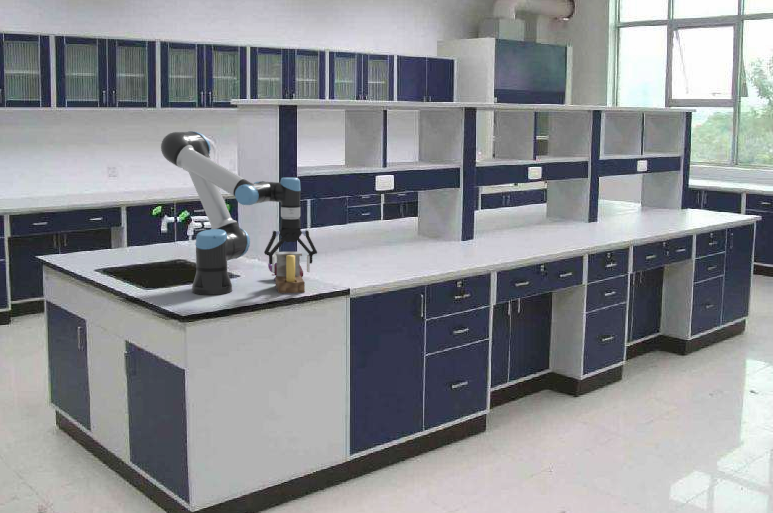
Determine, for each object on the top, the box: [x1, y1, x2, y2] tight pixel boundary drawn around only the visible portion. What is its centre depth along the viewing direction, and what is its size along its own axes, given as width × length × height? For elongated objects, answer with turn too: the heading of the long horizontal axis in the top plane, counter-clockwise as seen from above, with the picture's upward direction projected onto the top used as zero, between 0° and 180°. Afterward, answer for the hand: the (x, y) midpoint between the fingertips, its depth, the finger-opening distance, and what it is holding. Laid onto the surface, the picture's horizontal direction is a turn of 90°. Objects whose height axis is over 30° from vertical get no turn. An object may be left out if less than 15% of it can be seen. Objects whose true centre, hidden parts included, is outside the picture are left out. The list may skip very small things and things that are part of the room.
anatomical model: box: [267, 262, 304, 281], centre depth 350 cm, size 12×10×15 cm
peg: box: [286, 255, 295, 282], centre depth 327 cm, size 3×3×14 cm
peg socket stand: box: [274, 251, 306, 294], centre depth 330 cm, size 10×14×14 cm
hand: (290, 272), depth 326 cm, fingers open, 13 cm apart
